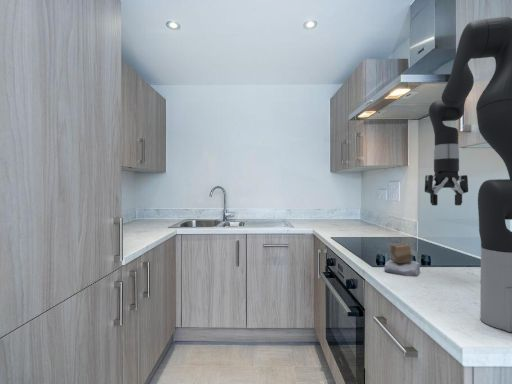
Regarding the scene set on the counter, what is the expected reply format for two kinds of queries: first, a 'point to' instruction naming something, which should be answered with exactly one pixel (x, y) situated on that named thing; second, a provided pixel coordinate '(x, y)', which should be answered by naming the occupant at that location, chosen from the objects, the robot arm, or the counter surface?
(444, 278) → the counter surface
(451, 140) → the robot arm
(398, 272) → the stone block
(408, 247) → the walnut block
